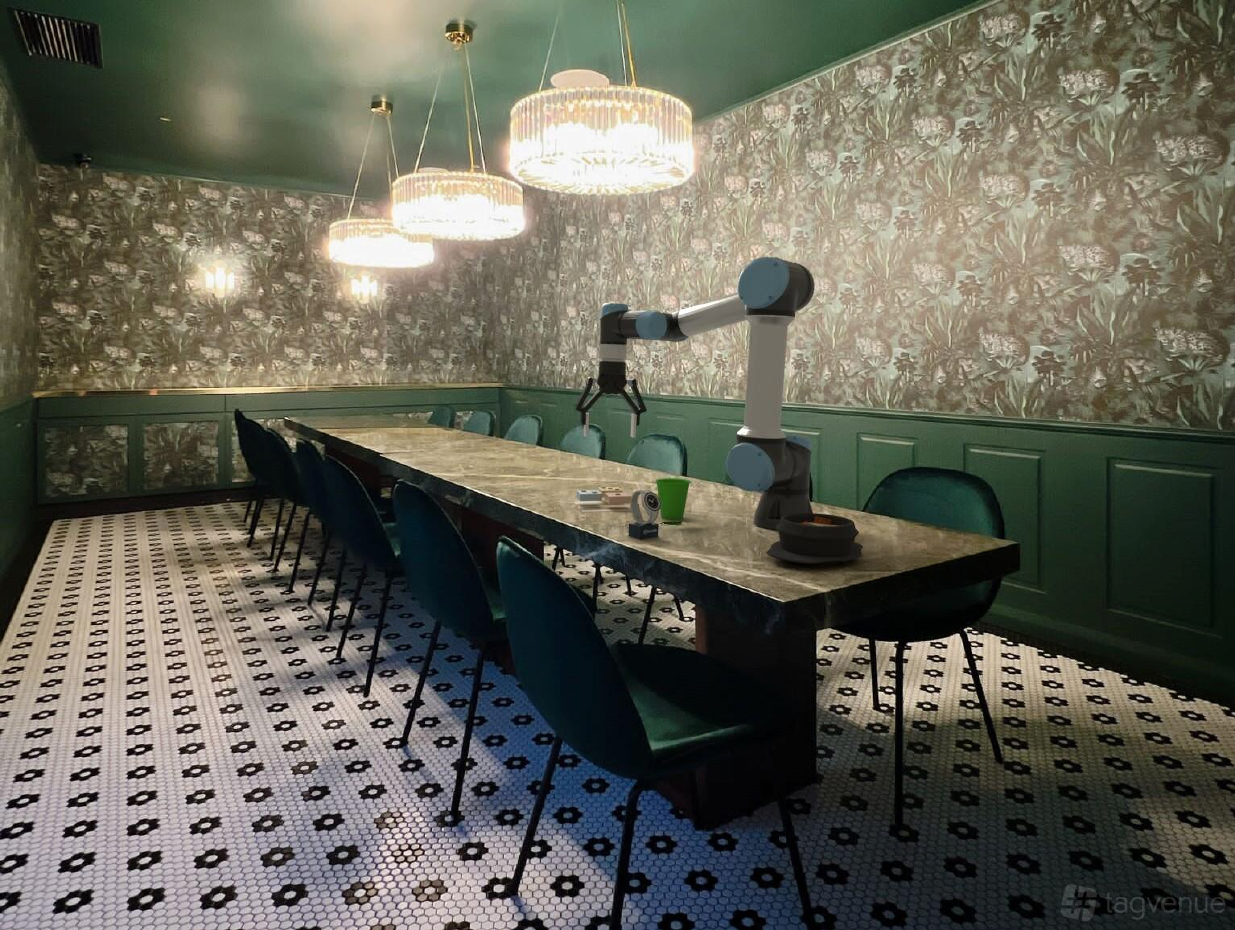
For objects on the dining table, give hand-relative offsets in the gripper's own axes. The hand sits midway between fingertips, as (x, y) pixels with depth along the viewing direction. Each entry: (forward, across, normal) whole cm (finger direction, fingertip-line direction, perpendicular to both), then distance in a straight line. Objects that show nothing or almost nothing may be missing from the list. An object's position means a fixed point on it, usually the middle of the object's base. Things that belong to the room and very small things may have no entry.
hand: (609, 437), depth 210 cm
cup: (+19, -11, +25) cm, 33 cm away
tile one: (+17, -1, +9) cm, 19 cm away
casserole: (+18, -29, +65) cm, 73 cm away
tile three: (+17, -1, -1) cm, 17 cm away
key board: (+20, +2, +4) cm, 20 cm away
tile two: (+17, +6, +4) cm, 18 cm away
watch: (+19, +1, +38) cm, 43 cm away
